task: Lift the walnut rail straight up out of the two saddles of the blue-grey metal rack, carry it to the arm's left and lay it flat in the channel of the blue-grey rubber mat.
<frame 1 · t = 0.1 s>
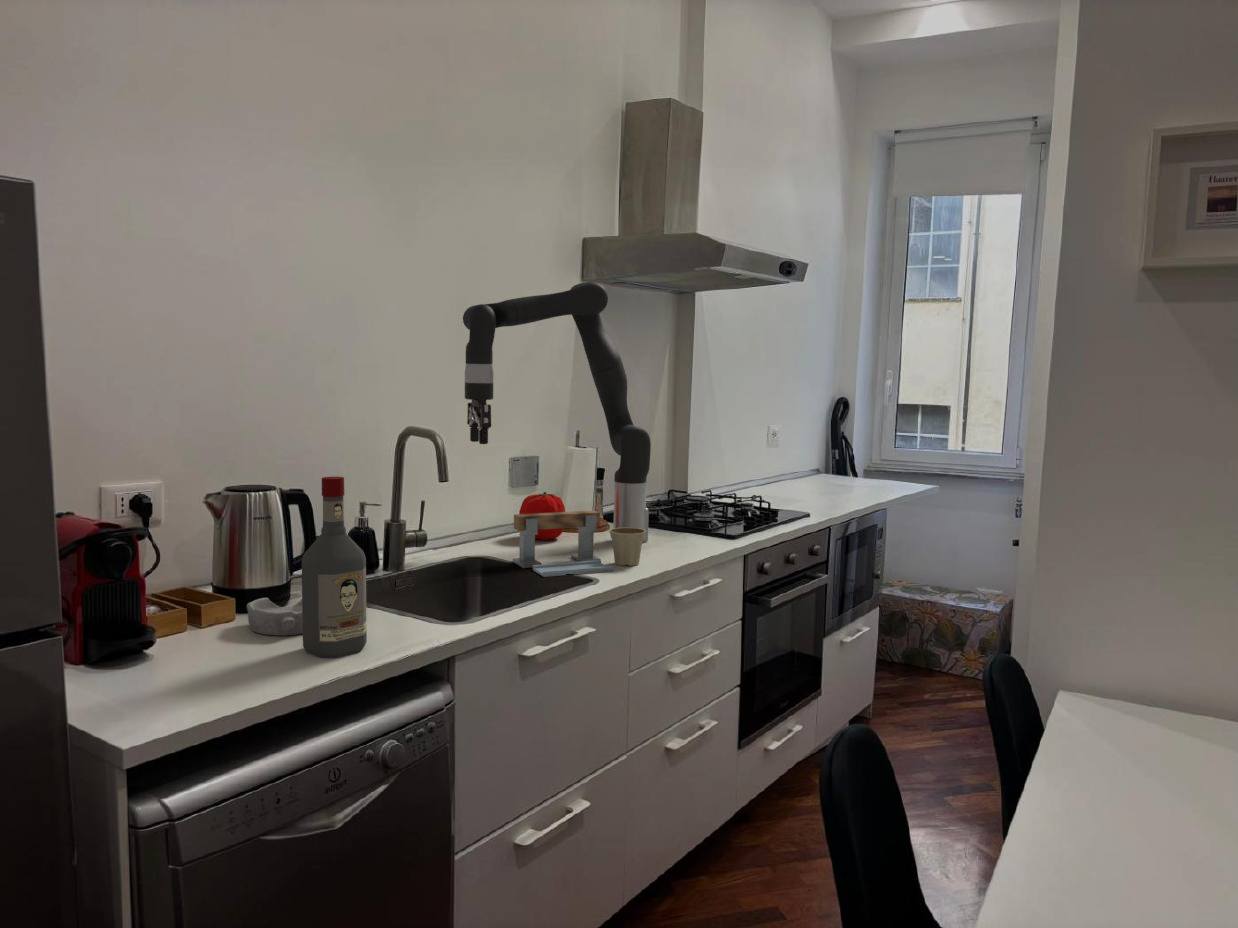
hand: (478, 442, 243), 29 cm above the kitchen counter, fingers open, 8 cm apart
tomato: (543, 539, 267), on the kitchen counter
rack: (556, 561, 235), on the kitchen counter
mat: (572, 570, 225), on the kitchen counter
rail: (557, 527, 234), point 9 cm above the kitchen counter, touching rack
flower pot: (626, 564, 234), on the kitchen counter
liquor: (335, 650, 159), on the kitchen counter
dish: (289, 629, 172), on the kitchen counter
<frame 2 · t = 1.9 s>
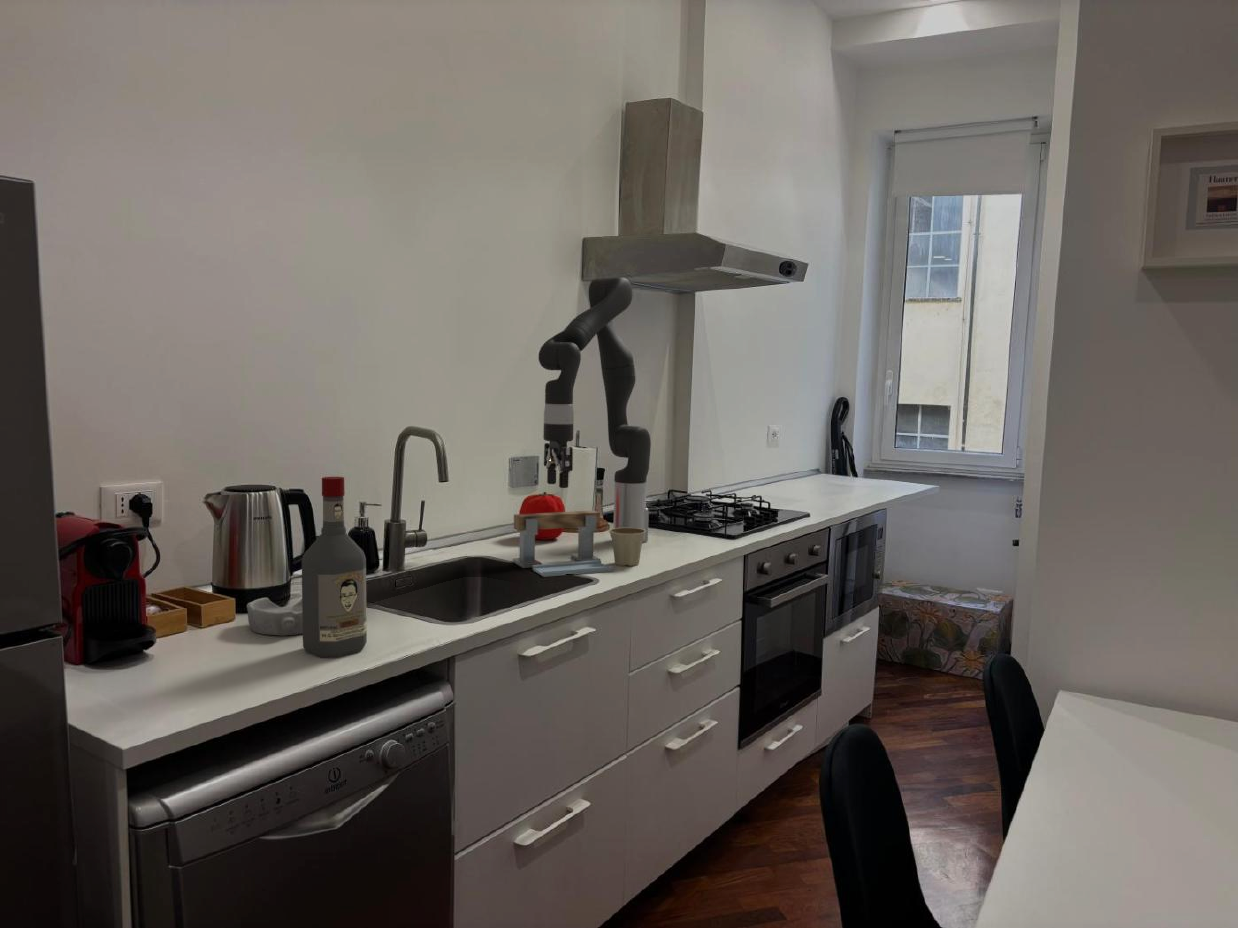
hand: (557, 485, 233), 20 cm above the kitchen counter, fingers open, 8 cm apart
nothing on the kitchen counter moved.
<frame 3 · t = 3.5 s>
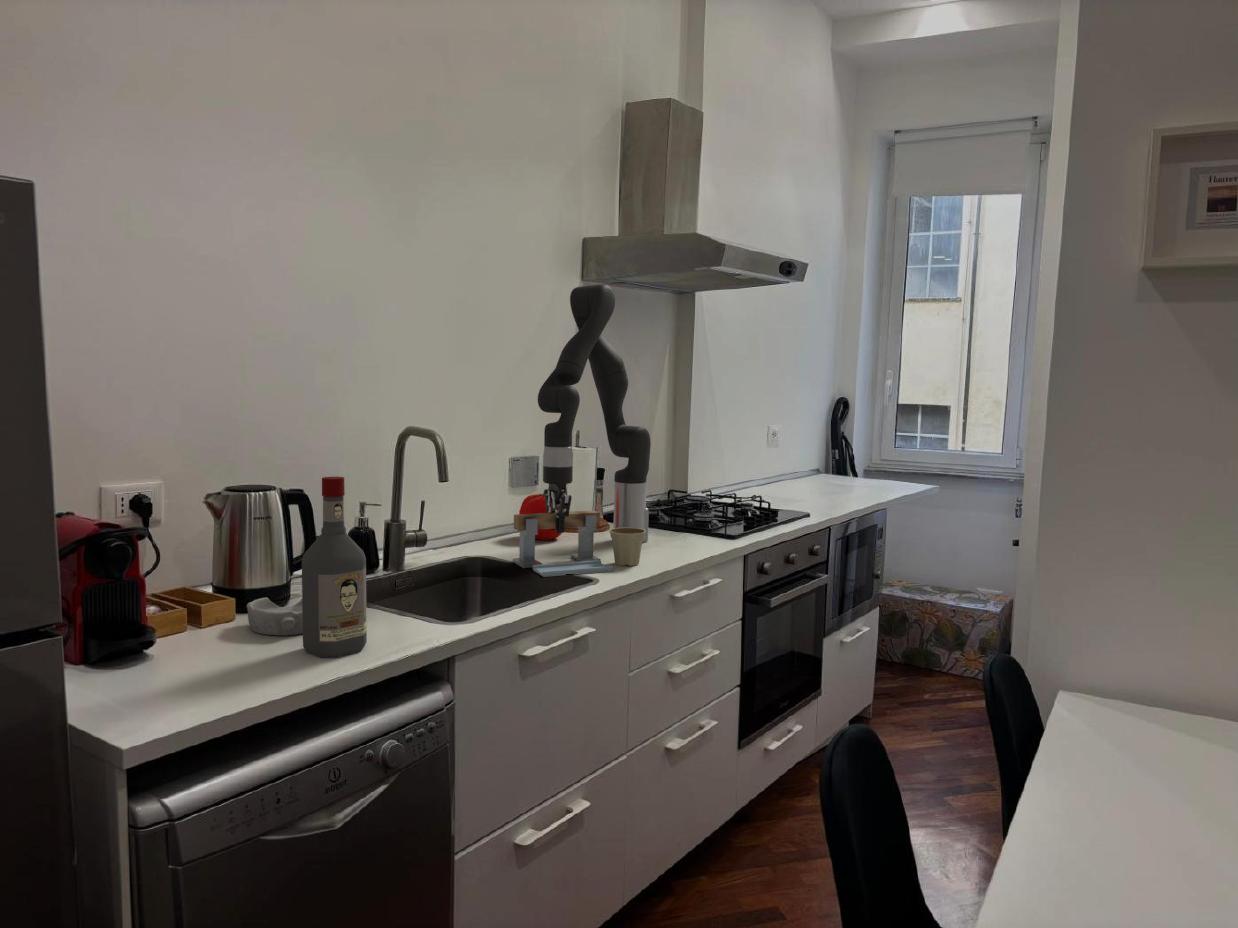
hand: (557, 530, 234), 8 cm above the kitchen counter, fingers closed on rail, 3 cm apart
rail: (557, 527, 234), point 9 cm above the kitchen counter, touching gripper, rack
everything else where it was.
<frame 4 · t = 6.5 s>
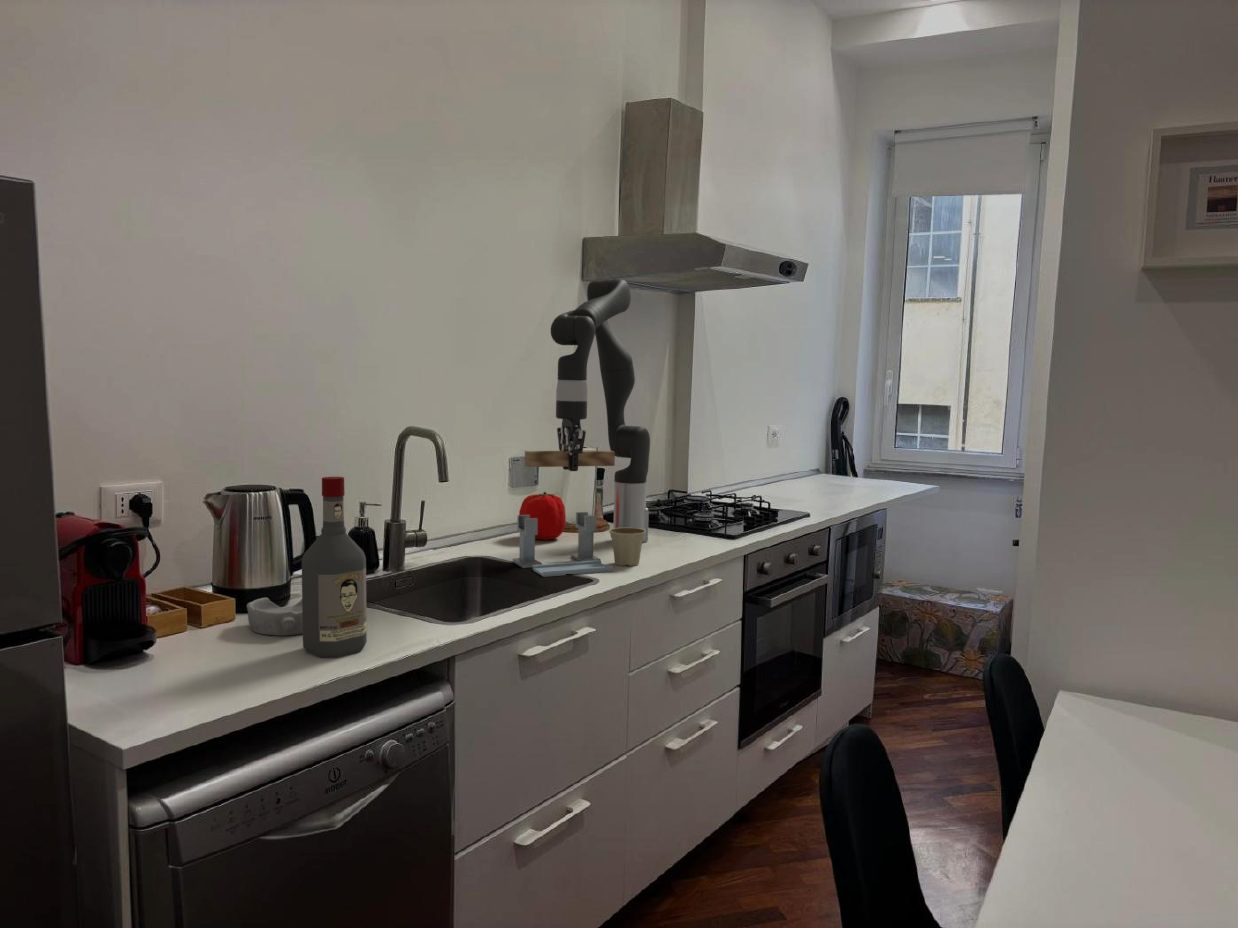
hand: (570, 469, 223), 25 cm above the kitchen counter, fingers closed on rail, 3 cm apart
rail: (570, 465, 223), point 26 cm above the kitchen counter, touching gripper
everything else where it was.
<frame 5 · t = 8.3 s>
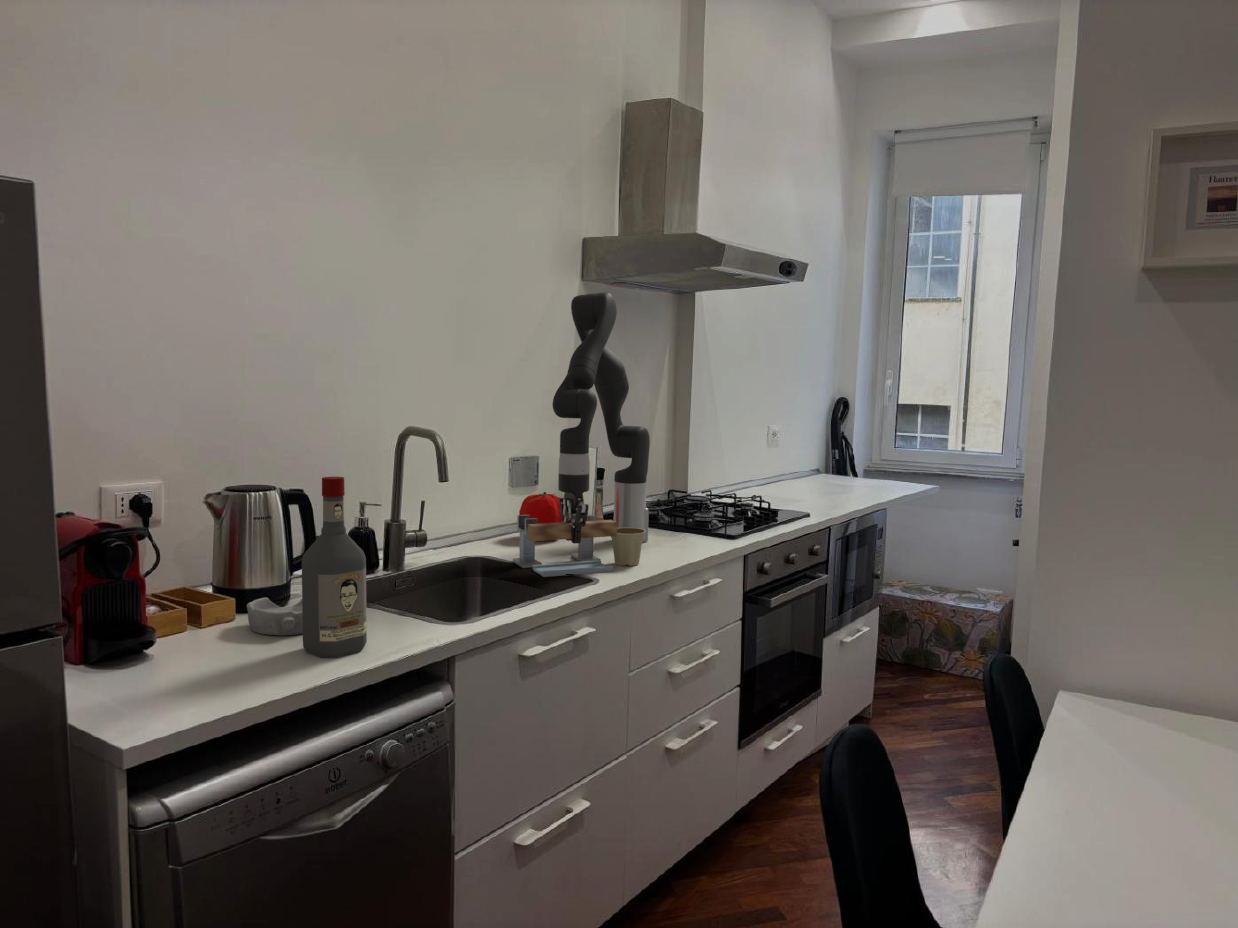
hand: (572, 541, 224), 7 cm above the kitchen counter, fingers closed on rail, 3 cm apart
rail: (572, 537, 224), point 8 cm above the kitchen counter, touching gripper
everything else where it was.
when the fingers open (2 cm above the kitchen counter, at t = 9.6 s): rail drops 2 cm, resting on mat.
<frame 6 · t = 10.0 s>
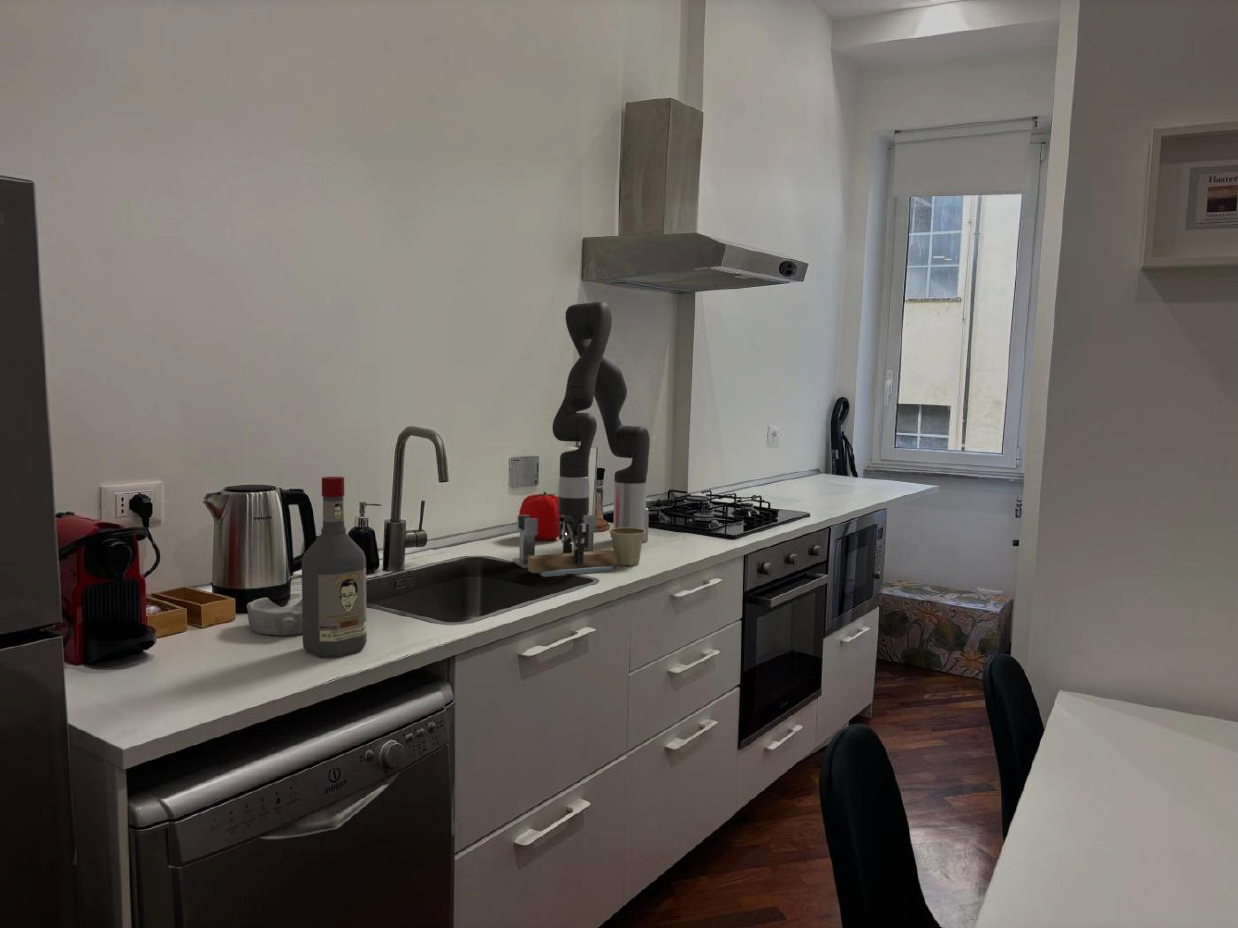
hand: (572, 561, 225), 2 cm above the kitchen counter, fingers open, 7 cm apart
rail: (572, 568, 225), point 1 cm above the kitchen counter, touching mat
everything else where it was.
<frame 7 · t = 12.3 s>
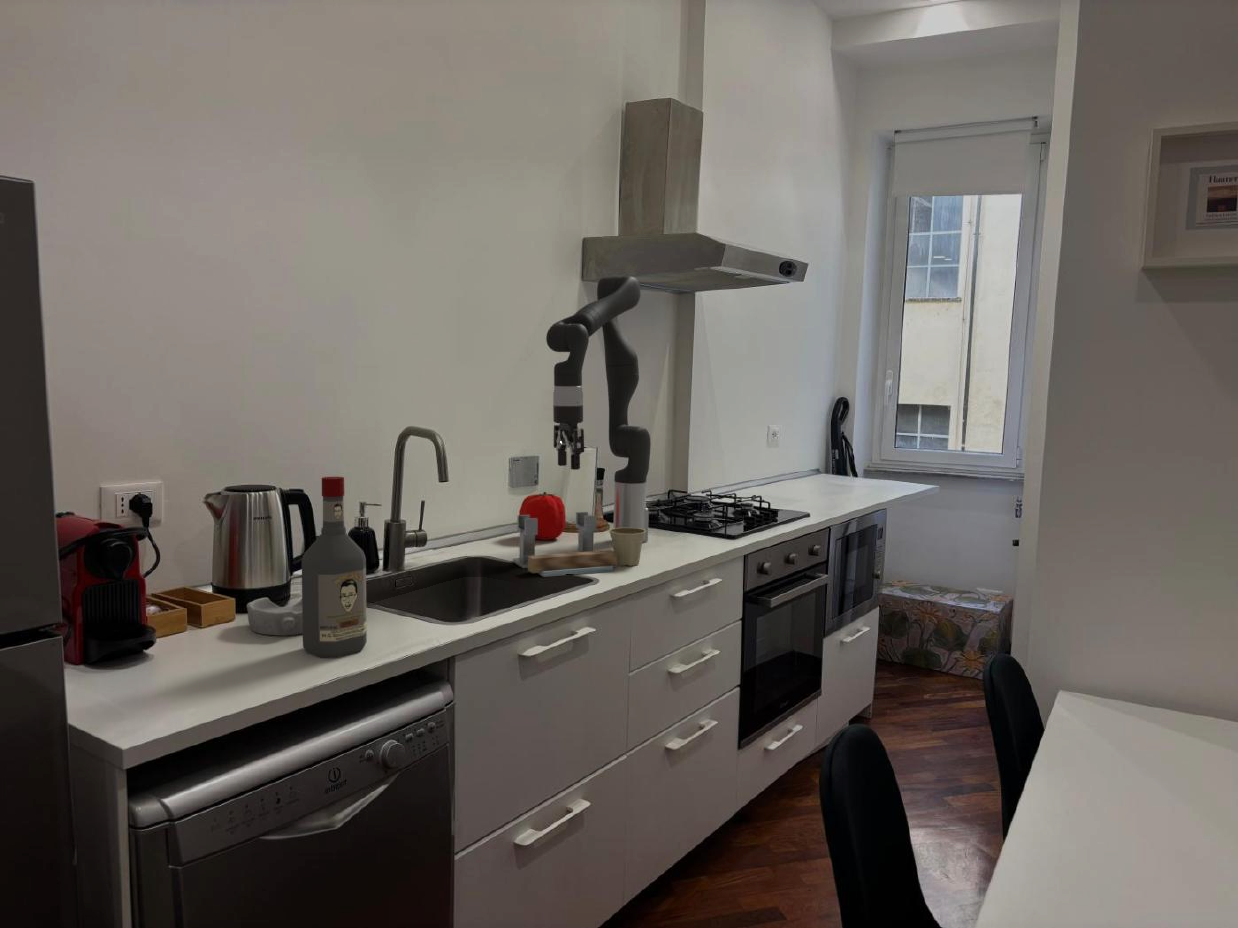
hand: (568, 467, 233), 24 cm above the kitchen counter, fingers open, 8 cm apart
nothing on the kitchen counter moved.
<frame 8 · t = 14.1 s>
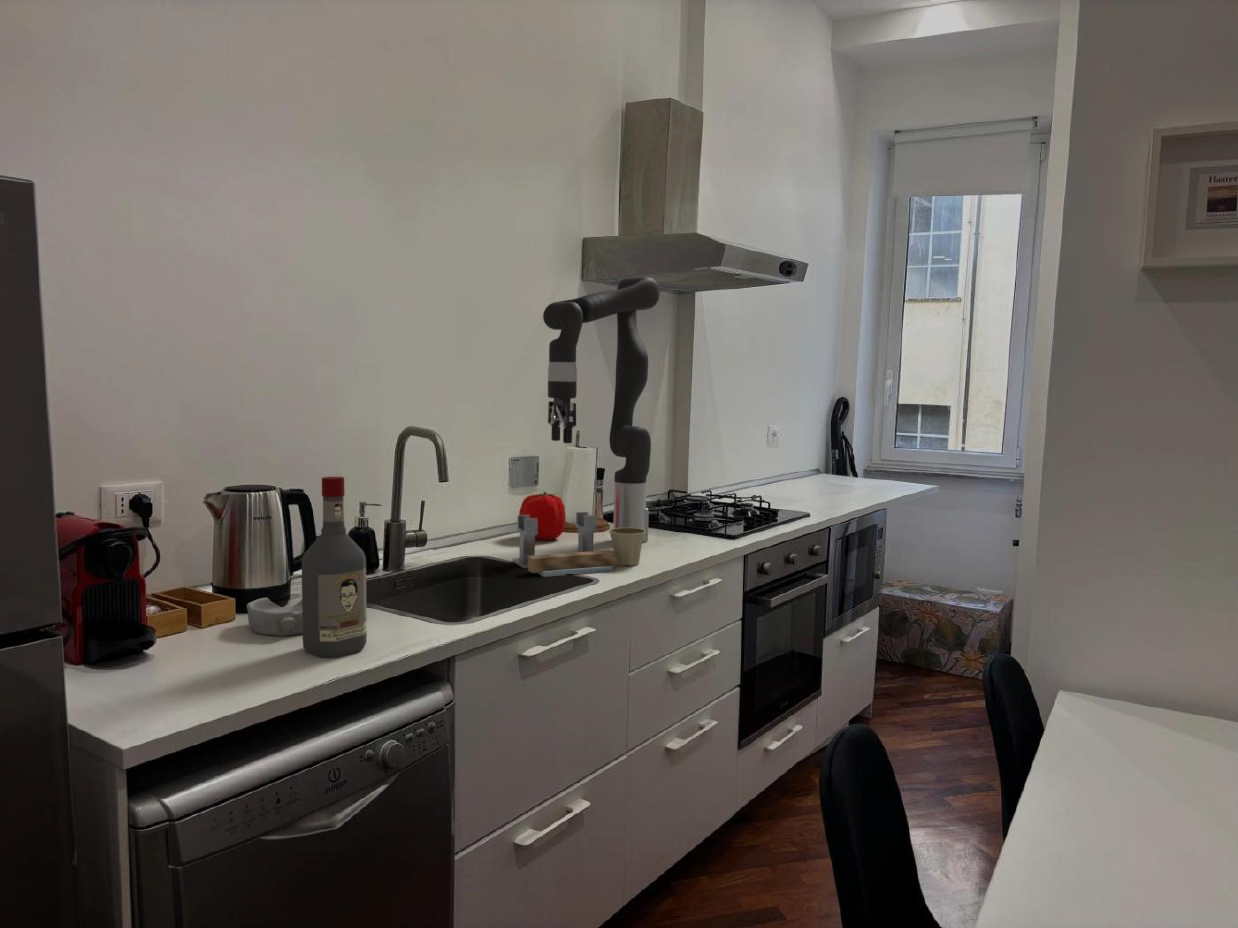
hand: (561, 441, 241), 30 cm above the kitchen counter, fingers open, 8 cm apart
nothing on the kitchen counter moved.
at the end: rail inside the target area on the mat (0.0 cm from its centre), point 0.6 cm above the mat's base; rail tilted 0°; rail touching mat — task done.
